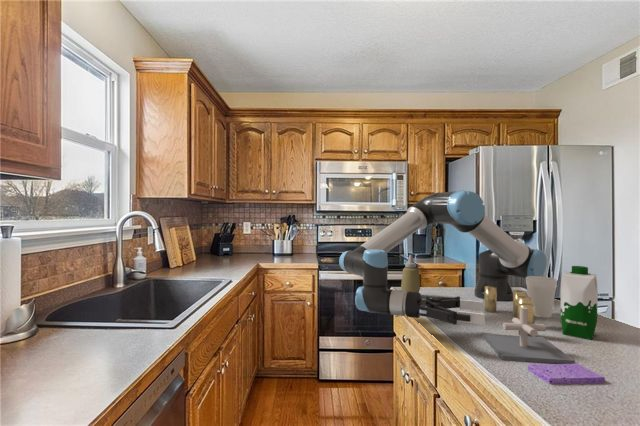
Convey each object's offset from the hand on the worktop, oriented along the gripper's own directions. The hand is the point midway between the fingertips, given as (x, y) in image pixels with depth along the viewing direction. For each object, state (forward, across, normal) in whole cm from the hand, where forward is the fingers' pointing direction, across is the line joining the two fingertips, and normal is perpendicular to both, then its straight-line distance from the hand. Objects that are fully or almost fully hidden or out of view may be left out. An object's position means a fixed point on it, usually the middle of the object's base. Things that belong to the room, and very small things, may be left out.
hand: (484, 312), depth 97 cm
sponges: (+16, +14, -9) cm, 23 cm away
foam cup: (+19, -40, -9) cm, 45 cm away
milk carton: (+26, -21, -9) cm, 34 cm away
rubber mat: (+10, 0, -9) cm, 13 cm away
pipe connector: (+10, 0, -8) cm, 12 cm away
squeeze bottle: (-28, -47, -9) cm, 56 cm away
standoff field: (+9, -25, -8) cm, 28 cm away
